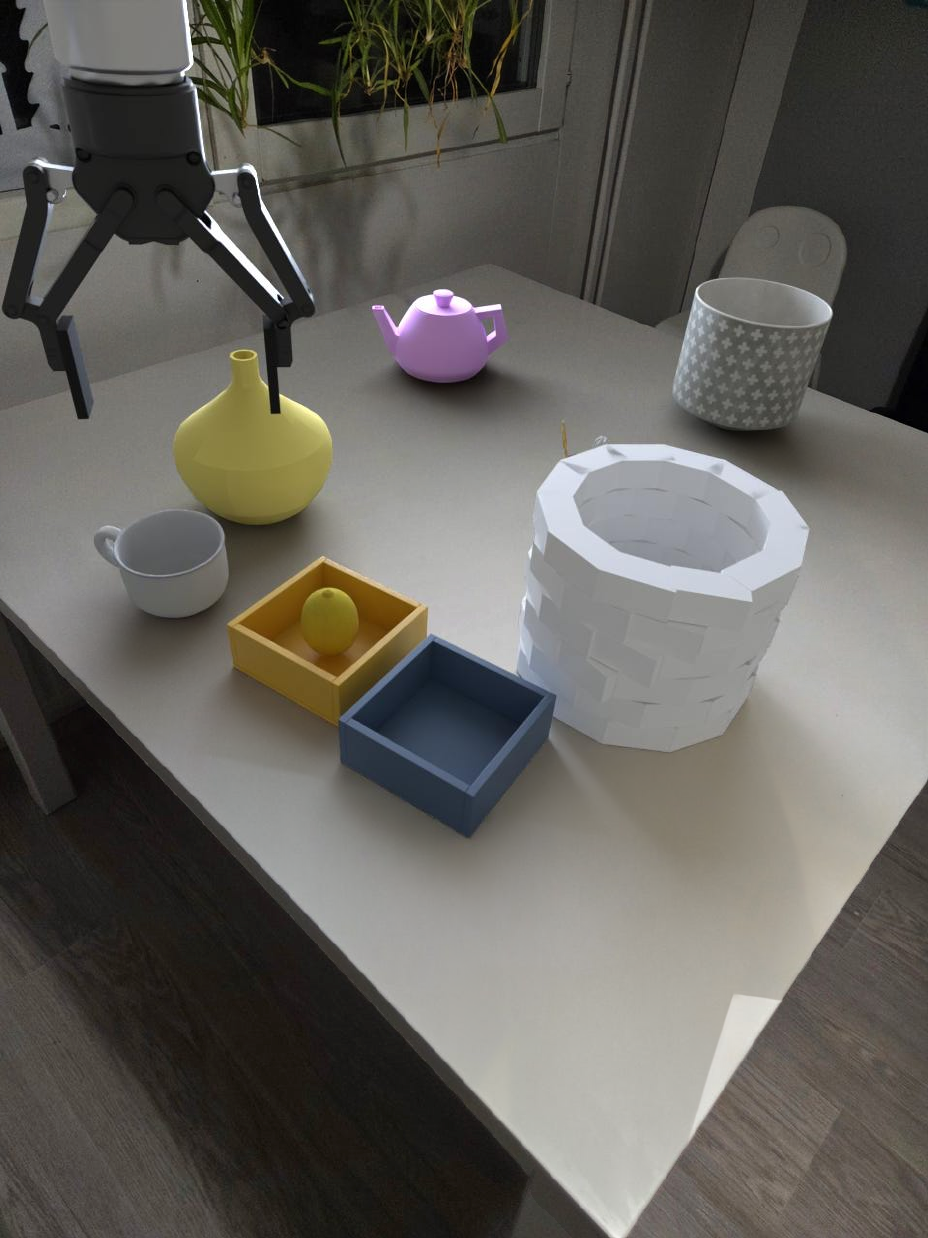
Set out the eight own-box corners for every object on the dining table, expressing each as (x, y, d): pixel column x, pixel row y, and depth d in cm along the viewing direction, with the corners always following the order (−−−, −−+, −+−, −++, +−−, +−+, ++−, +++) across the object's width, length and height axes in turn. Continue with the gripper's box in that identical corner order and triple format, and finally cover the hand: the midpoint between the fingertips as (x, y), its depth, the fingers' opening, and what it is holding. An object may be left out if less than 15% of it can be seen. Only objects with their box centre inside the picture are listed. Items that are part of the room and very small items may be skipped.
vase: (314, 456, 112) (304, 316, 99) (353, 530, 99) (348, 381, 87) (174, 477, 106) (145, 330, 93) (197, 558, 93) (168, 402, 81)
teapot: (498, 347, 143) (505, 276, 135) (512, 387, 132) (520, 311, 124) (371, 345, 141) (370, 273, 133) (374, 386, 129) (373, 309, 121)
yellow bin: (233, 666, 81) (225, 624, 77) (324, 596, 89) (321, 555, 86) (340, 729, 75) (338, 686, 72) (426, 648, 84) (428, 606, 81)
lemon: (338, 680, 79) (334, 617, 74) (292, 658, 81) (285, 596, 76) (370, 647, 83) (369, 585, 78) (325, 627, 85) (321, 565, 80)
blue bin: (340, 762, 73) (337, 719, 69) (428, 674, 81) (430, 632, 78) (469, 839, 67) (473, 797, 64) (548, 737, 76) (556, 695, 73)
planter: (659, 432, 123) (688, 311, 111) (675, 381, 137) (702, 269, 125) (789, 459, 119) (834, 336, 107) (792, 404, 133) (832, 290, 121)
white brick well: (520, 578, 94) (541, 429, 82) (730, 603, 93) (783, 455, 81) (504, 745, 75) (528, 583, 63) (768, 779, 74) (844, 621, 62)
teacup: (254, 587, 90) (245, 526, 85) (189, 646, 82) (175, 584, 77) (152, 550, 94) (138, 490, 89) (81, 603, 86) (61, 541, 81)
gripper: (337, 73, 53) (344, 382, 67) (-91, 50, 48) (12, 389, 62) (348, 93, 48) (354, 426, 61) (-134, 70, 43) (-10, 438, 57)
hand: (182, 408), depth 62 cm, fingers open, 13 cm apart
